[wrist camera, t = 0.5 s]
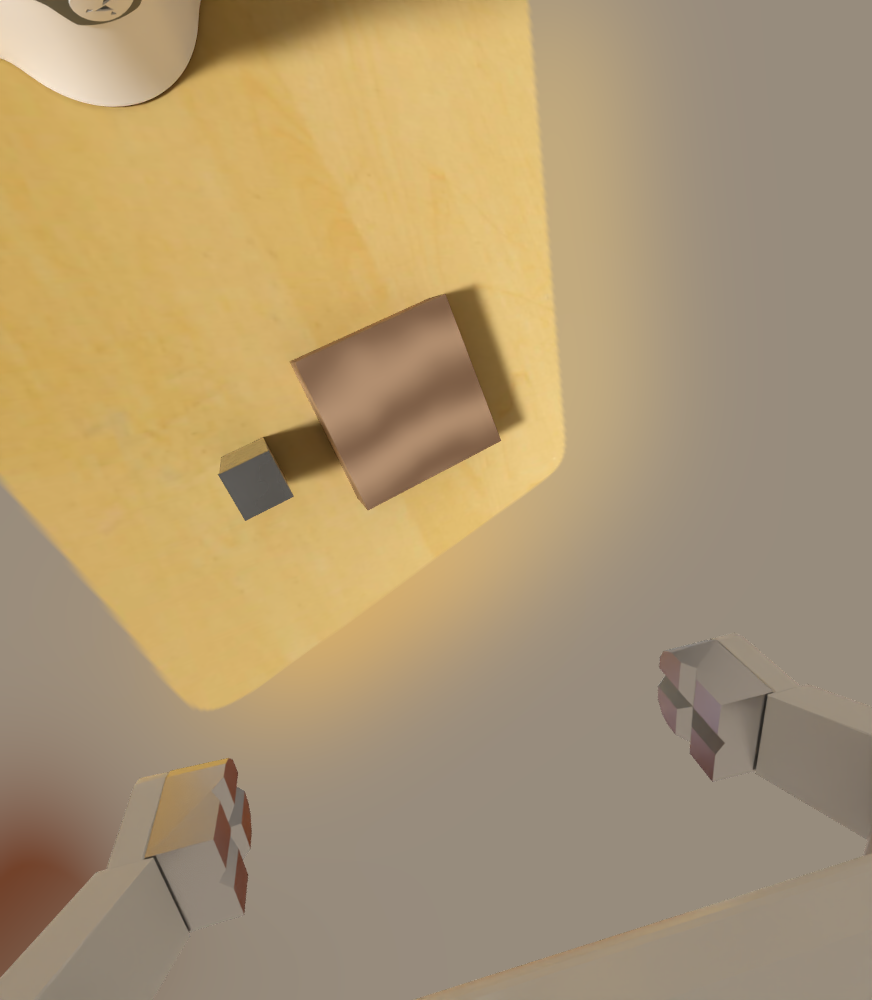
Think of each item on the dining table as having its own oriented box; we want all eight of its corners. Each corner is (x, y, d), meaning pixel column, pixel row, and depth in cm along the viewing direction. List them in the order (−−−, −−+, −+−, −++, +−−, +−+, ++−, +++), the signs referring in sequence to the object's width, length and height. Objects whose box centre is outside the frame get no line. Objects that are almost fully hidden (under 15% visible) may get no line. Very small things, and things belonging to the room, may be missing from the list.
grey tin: (220, 457, 51) (218, 474, 43) (263, 436, 51) (268, 450, 44) (243, 497, 52) (245, 520, 45) (285, 476, 53) (293, 496, 45)
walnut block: (289, 361, 51) (294, 362, 46) (427, 298, 54) (445, 293, 49) (356, 497, 56) (368, 510, 51) (479, 433, 58) (500, 440, 54)
